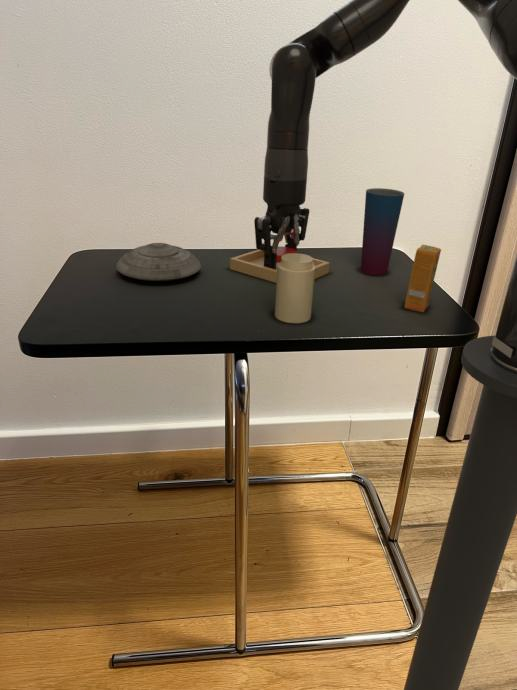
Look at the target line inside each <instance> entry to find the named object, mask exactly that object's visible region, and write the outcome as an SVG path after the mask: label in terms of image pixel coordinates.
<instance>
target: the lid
mask: <svg viewBox="0 0 517 690" xmlns="http://www.w3.org/2000/svg"><path fill="white" fill-rule="evenodd" d="M297 251H298V250H297ZM297 251H296V250H295V249H293V248H289V247H285V246H282V245H281V246H280V245H278V248H277V251H276V253H277V261H276V262H277V263H280V262H281V256H283V255H285V254H290V253H296V252H297ZM297 253H298V252H297Z"/></svg>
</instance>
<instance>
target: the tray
mask: <svg viewBox="0 0 517 690" xmlns="http://www.w3.org/2000/svg"><path fill="white" fill-rule="evenodd" d="M312 258H313V262H314V263H313V264H314V265H315V267H316V270H315V280H317V279H318V278H321V277H323V276H325V275H327V274H329V273H330V265H331V264H330V263H331V262H329V261H326V260H321V259H317V258H314V257H312ZM277 266H278V263H277V262H276V270H275V269H271V268H268V267H264V251H262V250H258V249H256V250H253V251H249V252H246V253H243V254H240V255H237V256H234V257H230V258H229V269H230V270H232V271H235V272H237V273H241V274H244V275H248V276H251V277H255V278H258V279H262V280H265V281H267V282H271V283H275V284H276V282H277Z"/></svg>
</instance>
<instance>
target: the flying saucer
mask: <svg viewBox="0 0 517 690" xmlns="http://www.w3.org/2000/svg"><path fill="white" fill-rule="evenodd" d="M115 268H116V270H117V272H119V273H120V274H121V275H123V276H124V277H125V276H126V277H127V278H130V279H134V280H139V281H144V282H169V281H170V282H171V281H176V280H181V279H185V278H188V277H192V276H193V275H195V274H196V273H198V271H200V270H201V268H202V264H201V262H200V261H199V259H198V258H197V257H196V256H195V255H194V254H193V253H192V252H191V251H189V250H187V249H185V248H182V247H180V246H177V245H172V244H169V243H164V242H152V243H147V244H145V245H140V246H137V247H134V248H133V249H131V250H129V251H127V252H126V253H124V254H123V255H122V256H121V257H120V259H119V260H118V261H117V263H116V265H115Z"/></svg>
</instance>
